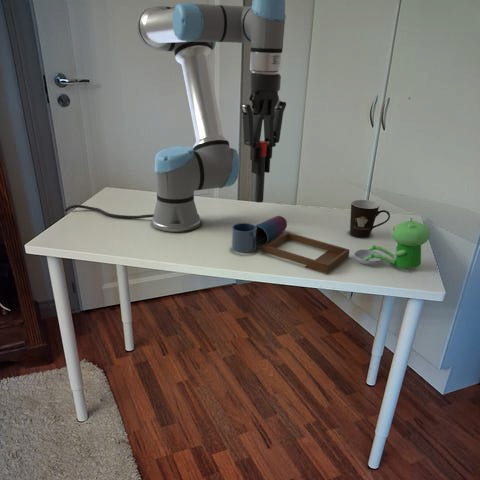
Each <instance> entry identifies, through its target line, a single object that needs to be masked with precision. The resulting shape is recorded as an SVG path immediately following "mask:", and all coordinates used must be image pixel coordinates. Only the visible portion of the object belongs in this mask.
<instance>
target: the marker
mask: <svg viewBox="0 0 480 480" xmlns="http://www.w3.org/2000/svg"><path fill="white" fill-rule="evenodd" d="M258 148H261V167H260V174H255V190H254V202H255V203H263V202H264V193H265V178H266V172H265V160H266V153H267V142H266V141H264V140H260V143H259V147H258Z"/></svg>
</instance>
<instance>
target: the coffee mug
mask: <svg viewBox="0 0 480 480" xmlns="http://www.w3.org/2000/svg"><path fill="white" fill-rule="evenodd" d="M379 209H380V204H379V202H376V201H373V200H368V199H353V200H352V201H351V202H350V219H349V235H350V236H351V237H354V238H357V239H368V238H369V237H371V235H372V234H371V233H372V231H373V230H374V229H375V228H377V227H380V226H382V225H384V224H386V223H387V222H388V221H389V220H390V218H391V213H390V212H389V211H388V210H385V209H381V210H379ZM381 213H386V215H387V218H386V219H385V220H384V221H382V222H381V223H378V224H375V222H376V221H375V220H376V218H377V217H378V216H379V215H380V214H381ZM374 224H375V225H374Z"/></svg>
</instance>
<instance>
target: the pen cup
mask: <svg viewBox="0 0 480 480" xmlns="http://www.w3.org/2000/svg"><path fill="white" fill-rule="evenodd" d="M255 225H256V224H252V223H249V222H248V223H246V222H240V223H235V224H233V225H232V226H231V250H232V251H233V252H234V253H235V252H236V253H239V254H250V253H254V252H255V251H256V249H257V243H256V239H257V227H256V226H255Z"/></svg>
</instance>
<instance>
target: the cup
mask: <svg viewBox="0 0 480 480" xmlns="http://www.w3.org/2000/svg"><path fill="white" fill-rule="evenodd" d="M254 225H255V226H256V227H257V239H256V244H258V243H260V242H261V241H263V240H265V239H266V242H265V243H263V244H262V245H261V246H260V248H263V245H265V244H267V243H269V242H271V241H272V240H274V239H276V238H278V237H279V235H280V234H282V233H283V232H284V231H286V229H287V228H288V222H287V219H286V218H285V217H284V216H281V215H276V216H273V217H271V218H269V219H267V220H265V221H262V222H260V223H256V224H254Z"/></svg>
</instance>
